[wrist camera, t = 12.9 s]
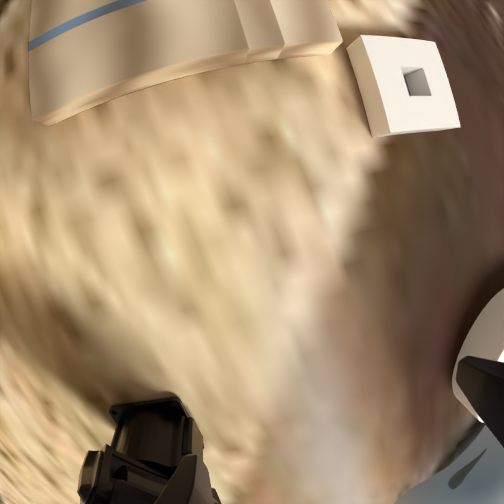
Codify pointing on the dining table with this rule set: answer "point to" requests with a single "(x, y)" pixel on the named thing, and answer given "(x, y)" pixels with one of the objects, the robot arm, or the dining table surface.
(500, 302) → the roll of tape
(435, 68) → the awl holder
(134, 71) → the beige flat rectangular piece
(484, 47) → the dining table surface
